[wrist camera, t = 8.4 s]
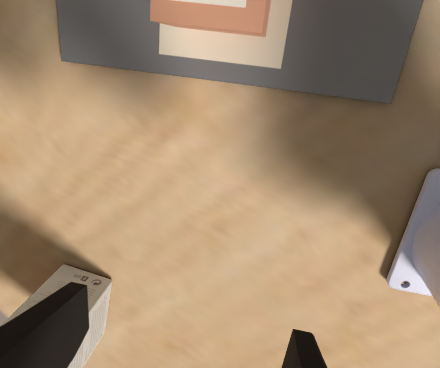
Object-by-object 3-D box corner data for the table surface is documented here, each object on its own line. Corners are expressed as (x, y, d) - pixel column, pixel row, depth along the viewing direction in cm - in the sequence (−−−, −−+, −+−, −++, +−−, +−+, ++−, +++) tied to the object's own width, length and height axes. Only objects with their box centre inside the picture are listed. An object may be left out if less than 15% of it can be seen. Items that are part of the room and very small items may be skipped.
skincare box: (62, 261, 25) (-109, 426, 14) (114, 278, 25) (-18, 460, 14) (59, 317, 27) (-88, 495, 16) (106, 333, 27) (-11, 524, 16)
